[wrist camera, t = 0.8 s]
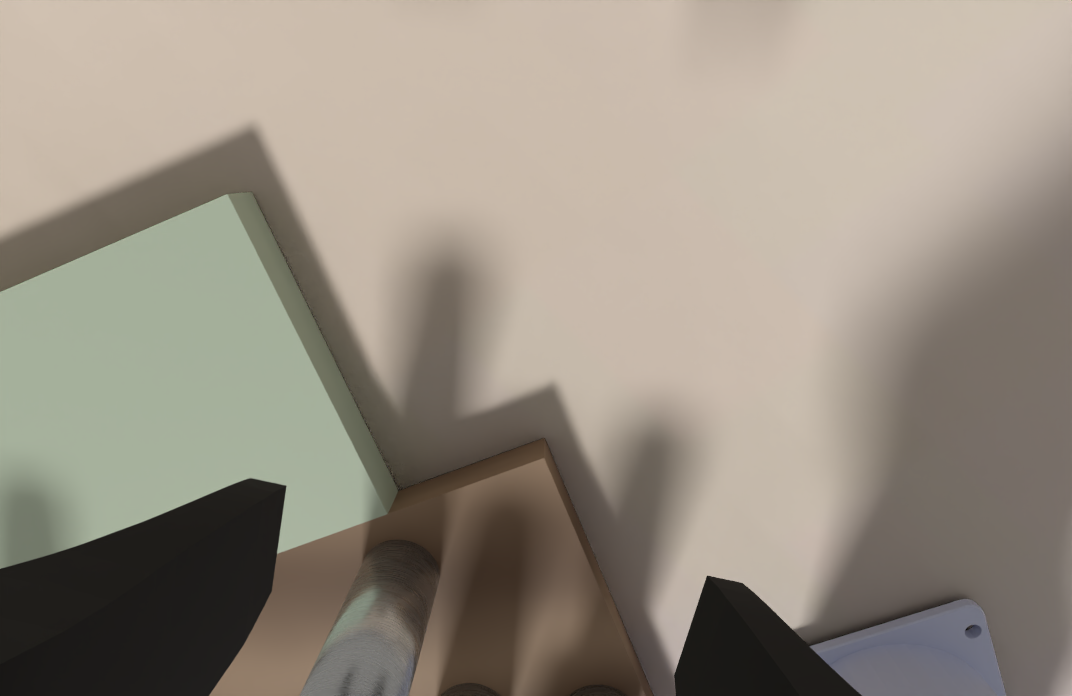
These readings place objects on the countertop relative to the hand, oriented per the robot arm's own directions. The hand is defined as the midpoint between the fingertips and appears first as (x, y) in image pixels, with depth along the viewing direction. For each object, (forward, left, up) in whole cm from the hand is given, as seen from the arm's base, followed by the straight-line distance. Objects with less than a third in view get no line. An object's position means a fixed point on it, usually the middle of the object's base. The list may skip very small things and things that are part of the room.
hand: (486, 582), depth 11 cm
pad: (+3, +12, -10) cm, 16 cm away
